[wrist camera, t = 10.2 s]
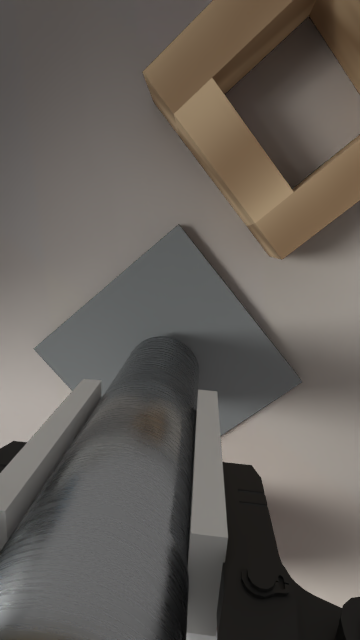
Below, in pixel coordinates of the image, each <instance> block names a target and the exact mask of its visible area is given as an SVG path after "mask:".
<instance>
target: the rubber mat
mask: <svg viewBox="0 0 360 640" xmlns="http://www.w3.org/2000/svg"><path fill="white" fill-rule="evenodd" d="M157 336H166V337H171V338H175V339H177V340H179V341H181V342H183V343H184V344H185V345H187V346H188V347H189V348H190V349H191V350H192V352H193V353H194V355H195V357H196V359H197V361H198V365H199V388H198V390H208V391H217V395H218V409H219V422H220V436H221V435H223V434H224V433H226V432H227V431H229V430H230V429H232V428H233V427H235V426H236V425H238V424H239V423H241V422H242V421H244V420H245V419H247V418H249V417H250V416H252V415H253V414H255V413H256V412H258V411H259V410H261V409H262V408H264V407H265V406H267V405H268V404H270V403H271V402H273V401H274V400H276V399H277V398H279V397H280V396H282V395H283V394H285V393H286V392H288V391H289V390H291V389H292V388H294V387H296V386H297V385H299V384H300V383H302V381H301V379H300V378H299V377H298V375H297V374H296V373H295V371H294V370H293V369H292V368H291V366H290V365H289V364H288V363H287V361H286V360H285V359H284V357H283V356H282V355H281V354H280V352H279V351H278V350H277V349H276V347H275V346H274V345H273V343H272V342H271V341H270V340H269V338H268V337H267V336H266V335H265V333H264V332H263V331H262V329H261V328H260V327H259V326H258V324H257V323H256V322H255V321H254V319H253V318H252V317H251V315H250V314H249V313H248V312H247V310H246V309H245V308H244V307H243V305H242V304H241V303H240V301H239V300H238V299H237V298H236V296H235V295H234V294H233V293H232V291H231V290H230V289H229V287H228V286H227V285H226V284H225V282H224V281H223V280H222V279H221V277H220V276H219V275H218V273H217V272H216V271H215V270H214V268H213V267H212V266H211V265H210V263H209V262H208V261H207V259H206V258H205V257H204V256H203V254H202V253H201V252H200V251H199V249H198V248H197V247H196V245H195V244H194V243H193V242H192V240H191V239H190V238H189V237H188V235H187V234H186V233H185V231H184V230H183V229H182V228H181V226H180V225H179V224H178V225H177V226H176V227H175V228H174V229H173V230H171V231H170V232H169V233H168V234H167V235H166V236H164V237H163V238H162V239H161V240H160V241H159V242H157V243H156V244H155V245H154V246H153V247H152V248H150V249H149V250H148V251H147V252H146V253H145V254H143V255H142V256H141V257H140V258H139V259H138V260H136V261H135V262H134V263H133V264H132V265H131V266H129V267H128V268H127V269H126V270H125V271H124V272H122V273H121V274H120V275H119V276H118V277H117V278H115V279H114V280H113V281H112V282H111V283H110V284H109V285H107V286H106V287H105V288H104V289H103V290H102V291H100V292H99V293H98V294H97V295H96V296H95V297H93V298H92V299H91V300H90V301H89V302H88V303H86V304H85V305H84V306H83V307H82V308H81V309H79V310H78V311H77V312H76V313H75V314H74V315H72V316H71V317H70V318H69V319H68V320H67V321H65V322H64V323H63V324H62V325H61V326H60V327H58V328H57V329H56V330H55V331H54V332H53V333H51V334H50V335H49V336H48V337H47V338H46V339H44V340H43V341H42V342H41V343H40V344H39V345H37V346H36V347H35V348H34V350H35V351H36V352H37V353H38V354H39V355H40V356H41V357H42V359H43V360H44V361H45V362H46V363H47V364H48V365H49V366H50V367H51V368H52V369H53V370H54V372H55V373H56V374H57V375H58V376H59V377H60V378H61V379H62V380H63V381H64V382H65V384H66V385H67V386H68V387H69V388H70V389H71V390H72V391H73V390H74V389H75V388H76V386H77V385H78V384H79V383H80V382H81V381H82V380H83V379H91V380H102V381H101V398H102V396H103V395H104V393H105V392H106V390H107V389H108V387H109V386H110V384H111V383H112V381H113V380H114V378H115V377H116V375H117V374H118V372H119V371H120V369H121V368H122V366H123V365H124V363H125V361H126V360H127V358H128V357H129V355H130V354H131V352H132V351H133V350H134V348H135V347H136V346H137V345H138V344H140V343H141V342H142V341H144V340H146V339H149V338H152V337H157Z"/></svg>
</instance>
